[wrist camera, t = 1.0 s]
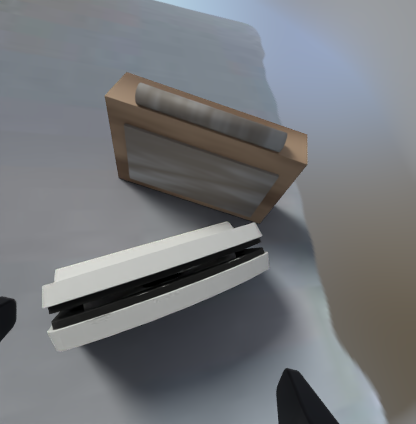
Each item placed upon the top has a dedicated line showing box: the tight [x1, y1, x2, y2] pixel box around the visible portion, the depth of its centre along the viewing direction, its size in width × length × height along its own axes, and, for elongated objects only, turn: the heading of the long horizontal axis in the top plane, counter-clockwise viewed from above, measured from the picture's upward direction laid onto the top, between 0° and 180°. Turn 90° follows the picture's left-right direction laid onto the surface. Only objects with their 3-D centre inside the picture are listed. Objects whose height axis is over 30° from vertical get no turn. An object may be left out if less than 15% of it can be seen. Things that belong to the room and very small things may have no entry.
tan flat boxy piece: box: [105, 72, 307, 224], centre depth 23 cm, size 4×17×11 cm, turn 76°
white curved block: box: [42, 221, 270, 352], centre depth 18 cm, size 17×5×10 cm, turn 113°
